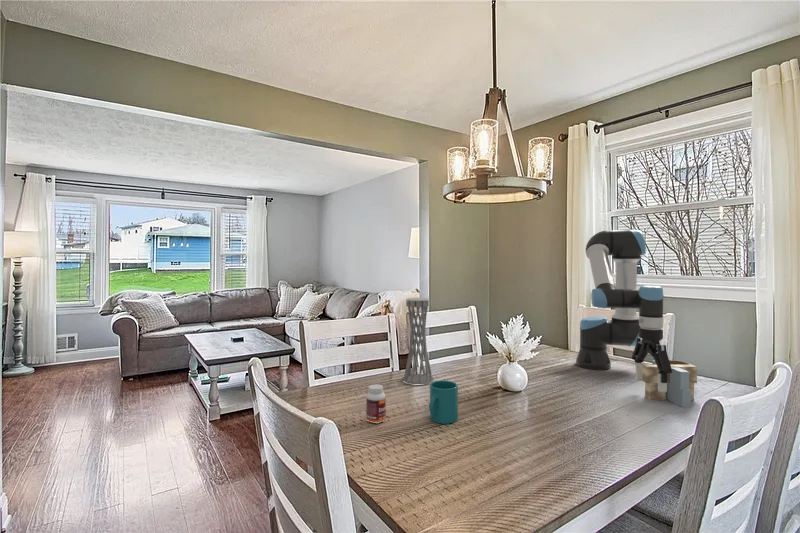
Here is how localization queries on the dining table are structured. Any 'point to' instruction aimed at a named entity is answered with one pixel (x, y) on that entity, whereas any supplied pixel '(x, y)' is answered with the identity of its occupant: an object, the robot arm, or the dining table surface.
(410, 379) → the vase
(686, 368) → the maple board
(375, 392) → the pill bottle
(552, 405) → the dining table surface
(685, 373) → the slate board
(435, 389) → the cup
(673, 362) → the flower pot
